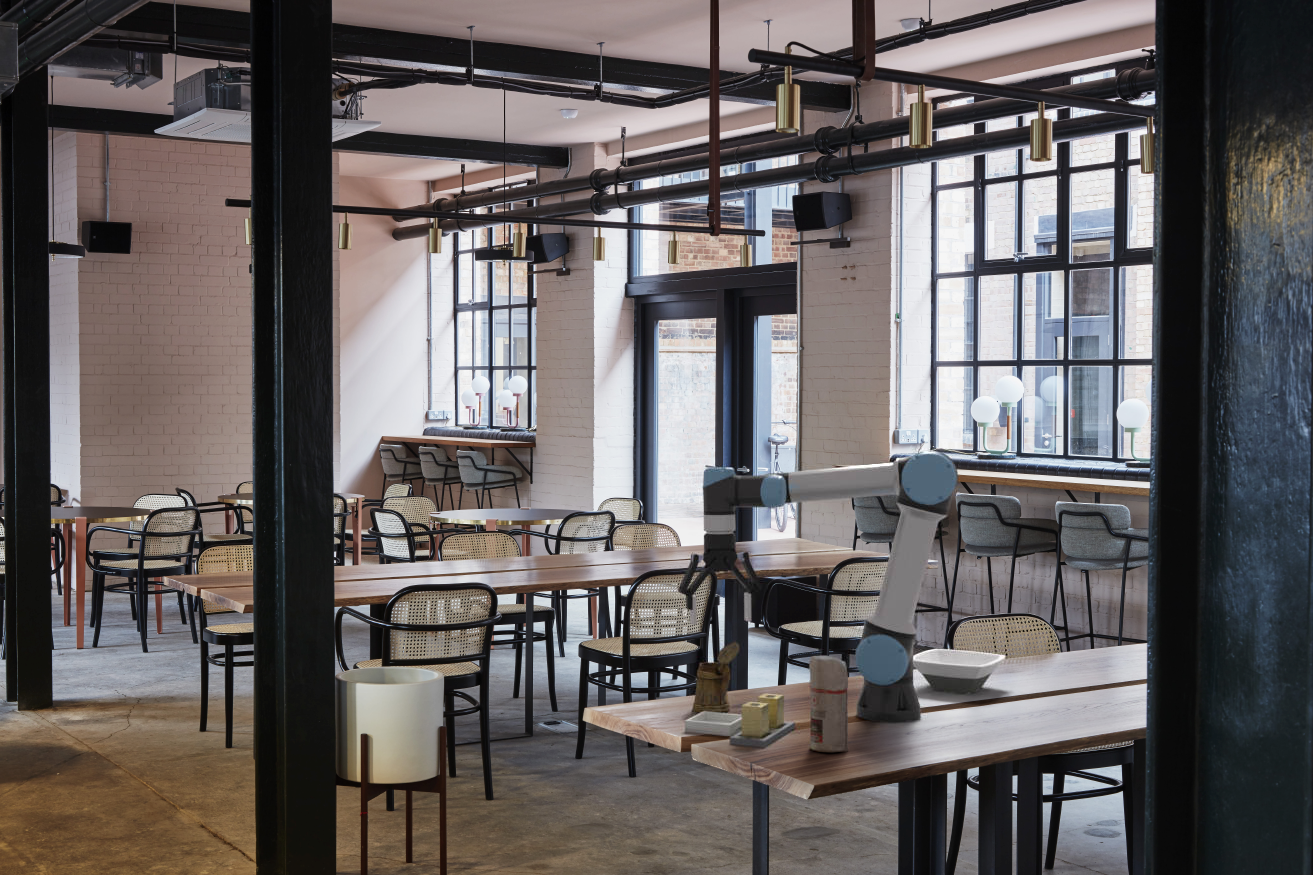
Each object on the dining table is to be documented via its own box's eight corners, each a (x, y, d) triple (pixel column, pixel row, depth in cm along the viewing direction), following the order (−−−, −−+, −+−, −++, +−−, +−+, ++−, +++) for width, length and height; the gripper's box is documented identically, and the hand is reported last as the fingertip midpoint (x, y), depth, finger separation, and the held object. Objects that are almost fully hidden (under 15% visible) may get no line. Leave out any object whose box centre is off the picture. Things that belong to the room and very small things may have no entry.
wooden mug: (719, 718, 302) (719, 642, 302) (685, 709, 313) (685, 635, 313) (748, 714, 307) (748, 639, 307) (713, 704, 318) (713, 632, 318)
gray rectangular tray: (794, 728, 292) (794, 721, 292) (764, 747, 274) (764, 740, 274) (761, 724, 295) (761, 718, 295) (729, 743, 277) (729, 736, 277)
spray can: (805, 745, 276) (805, 652, 276) (842, 744, 276) (842, 652, 276) (813, 754, 267) (813, 659, 267) (852, 754, 268) (852, 658, 268)
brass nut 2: (783, 730, 290) (783, 694, 290) (777, 734, 286) (777, 698, 286) (764, 728, 292) (764, 692, 292) (757, 732, 288) (757, 696, 288)
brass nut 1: (768, 739, 281) (768, 702, 281) (761, 744, 277) (761, 706, 277) (749, 737, 283) (749, 701, 283) (741, 741, 279) (741, 705, 279)
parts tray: (747, 726, 294) (747, 715, 294) (730, 736, 284) (730, 724, 284) (704, 721, 299) (703, 710, 299) (685, 731, 289) (685, 720, 289)
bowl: (1011, 686, 342) (1011, 654, 342) (984, 700, 322) (984, 667, 322) (932, 677, 353) (932, 647, 353) (901, 691, 334) (901, 659, 334)
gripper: (763, 529, 309) (764, 617, 309) (664, 533, 302) (665, 622, 302) (774, 531, 302) (775, 621, 302) (673, 535, 295) (675, 626, 295)
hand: (720, 622), depth 302 cm, fingers open, 13 cm apart
